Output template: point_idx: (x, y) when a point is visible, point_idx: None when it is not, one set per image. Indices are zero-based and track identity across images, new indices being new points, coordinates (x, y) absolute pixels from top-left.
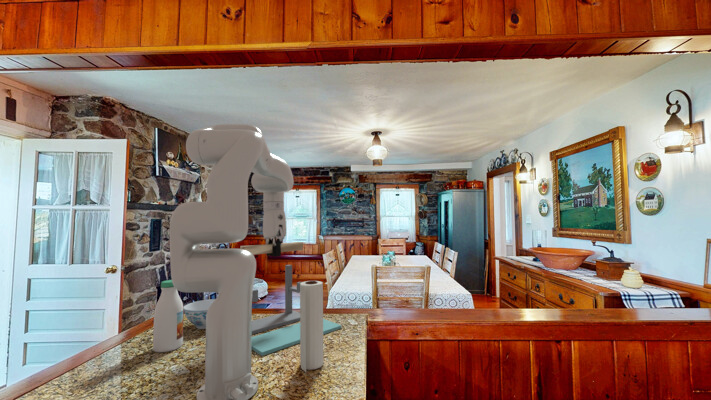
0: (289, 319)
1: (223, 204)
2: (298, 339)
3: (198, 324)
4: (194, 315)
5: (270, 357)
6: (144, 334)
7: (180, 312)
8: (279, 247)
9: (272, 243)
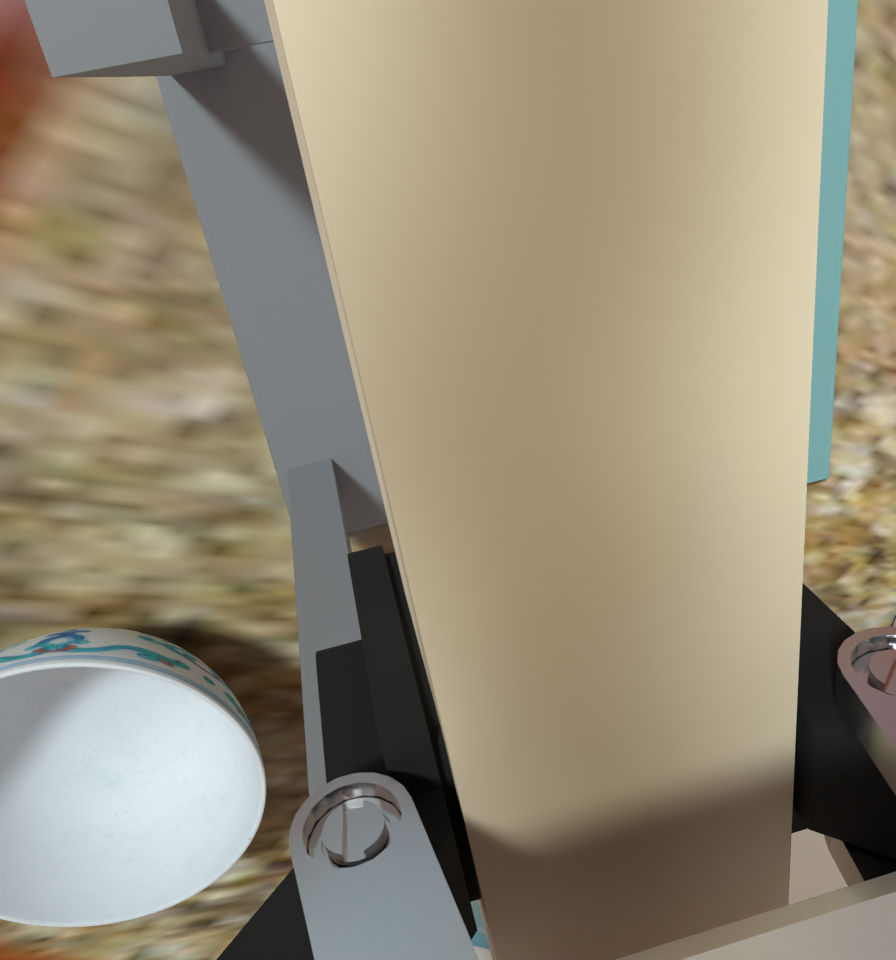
0: None
1: None
2: (837, 245)
3: (197, 752)
4: (230, 828)
5: (859, 438)
6: (105, 939)
7: (485, 944)
8: (846, 636)
9: (455, 846)
